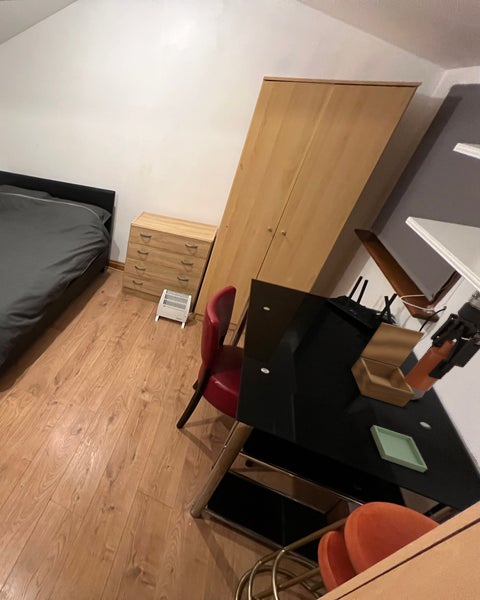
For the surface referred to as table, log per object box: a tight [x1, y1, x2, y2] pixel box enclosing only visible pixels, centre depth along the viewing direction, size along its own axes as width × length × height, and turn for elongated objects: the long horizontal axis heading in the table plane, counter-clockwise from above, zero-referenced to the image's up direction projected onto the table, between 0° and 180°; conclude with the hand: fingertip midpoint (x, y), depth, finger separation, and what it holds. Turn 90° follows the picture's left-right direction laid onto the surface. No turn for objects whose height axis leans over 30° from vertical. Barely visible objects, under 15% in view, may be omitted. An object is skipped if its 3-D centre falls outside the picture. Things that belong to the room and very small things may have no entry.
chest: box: [350, 356, 415, 408], centre depth 120 cm, size 15×13×7 cm
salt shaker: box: [410, 386, 427, 401], centre depth 116 cm, size 6×6×13 cm
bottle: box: [404, 340, 456, 392], centre depth 97 cm, size 6×6×17 cm
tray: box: [369, 424, 428, 473], centre depth 100 cm, size 11×10×2 cm
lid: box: [360, 322, 425, 368], centre depth 120 cm, size 15×13×1 cm
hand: (429, 369), depth 98 cm, fingers closed on bottle, 6 cm apart
